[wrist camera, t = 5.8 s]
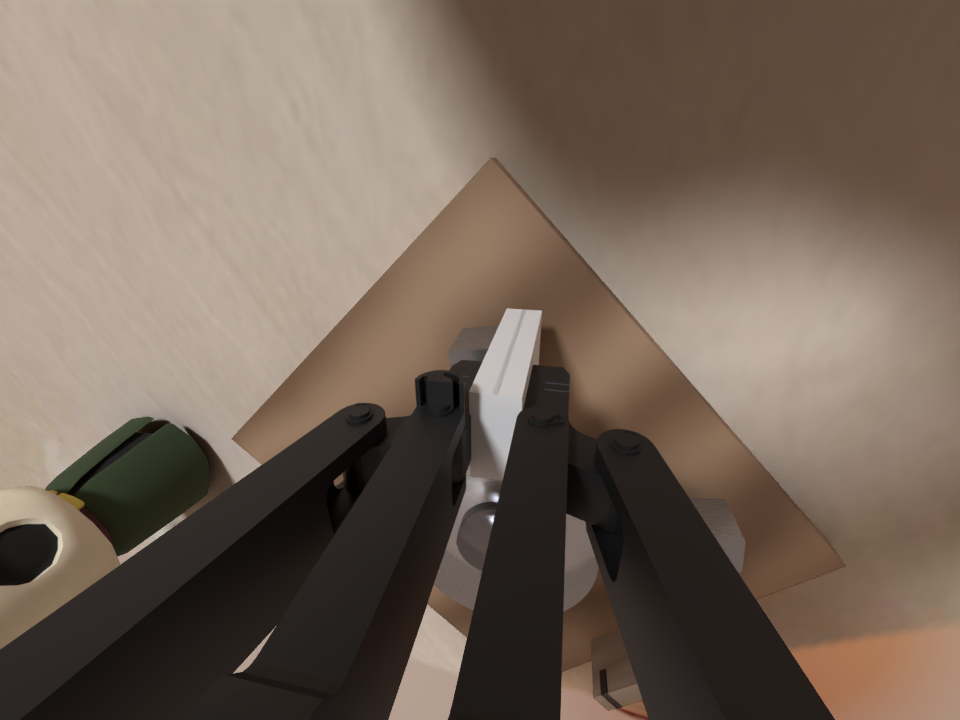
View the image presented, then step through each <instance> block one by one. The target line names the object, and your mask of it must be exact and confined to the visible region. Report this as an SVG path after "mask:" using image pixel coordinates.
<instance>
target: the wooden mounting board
mask: <svg viewBox="0 0 960 720" xmlns="http://www.w3.org/2000/svg"><path fill="white" fill-rule="evenodd" d="M507 308H509V309H524V310H540V311H542V321H541V337H540V353H539V365H542V366H554V367H564V368H565V370H566V371H567V372H568V373H569V375H570V387H569V411H568V419H569V422H570V424H571V425H572V427H574V428H575V429H576V430H577V431H579V432H580V433H582V434H584V435H587V436H589V437H592V438H595V439H597V438H598V437H599V435H600V434H601V433H603V432H605V431H607V430H613V429H625V430H631V431H634V432H637V433H639V434H641V435H643V436H645V437H647V438H648V439H649V440H650V441H651V442H652V443H653V444H654V445H655V447H656V448H657V450H658V451H659V453H660V454H661V456H662V457H663V459H664V460H665V462H666V464H667V465H668V467H669V468H670V470H671V471H672V473H673V474H674V476H675V477H676V479H677V480H678V482H679V483H680V485H681V486H682V488H683V489H684V491H685V492H686V494H687V495H688V497H689V498H710V499H726V501H727V503H728V505H729V507H730V510H731V512H732V514H733V516H734V518H735V520H736V523H737V525H738V527H739V529H740V531H741V533H742V536H743V538H744V540H745V542H746V543H745V551H744V560H743V568H742V572H738V573H739V575H740V576H741V578H742V579H743V581H744V582H745V584H746V585H747V587H748V588H749V590H750V591H751V593H752V594H753V596H754V597H755V599H759V598H762V597H764V596H767V595H770V594H772V593H775V592H778V591H780V590H783V589H786V588H788V587H791V586H794V585H796V584H799V583H802V582H805V581H807V580H810V579H813V578H815V577H818V576H821V575H823V574H826V573H829V572H831V571H834V570H837V569H839V568H842V567H845V564H844V563H843V561H842V560H841V558H840V557H839V555H838V554H837V552H836V551H835V549H834V548H833V546H832V545H831V544H830V543H829V542H828V541H827V539H826V538H825V537H824V536H823V535H822V534H821V532H820V531H819V530H818V529H817V528H816V527H815V526H814V524H813V523H812V522H811V521H810V520H809V519H808V517H807V516H806V515H805V514H804V513H803V512H802V511H801V509H800V508H799V507H798V506H797V505H796V504H795V502H794V501H793V500H792V499H791V498H790V497H789V496H788V494H787V493H786V492H785V491H784V490H783V489H782V487H781V486H780V485H779V484H778V483H777V482H776V481H775V479H774V478H773V477H772V476H771V475H770V474H769V472H768V471H767V470H766V469H765V468H764V467H763V466H762V464H761V463H760V462H759V461H758V460H757V459H756V457H755V456H754V455H753V454H752V453H751V452H750V451H749V449H748V448H747V447H746V446H745V445H744V444H743V442H742V441H741V440H740V439H739V438H738V437H737V436H736V434H735V433H734V432H733V431H732V430H731V429H730V427H729V426H728V425H727V424H726V423H725V422H724V421H723V419H722V418H721V417H720V416H719V415H718V414H717V412H716V411H715V410H714V409H713V408H712V407H711V406H710V404H709V403H708V402H707V401H706V400H705V399H704V397H703V396H702V395H701V394H700V393H699V392H698V391H697V389H696V388H695V387H694V386H693V385H692V384H691V382H690V381H689V380H688V379H687V378H686V377H685V376H684V374H683V373H682V372H681V371H680V370H679V369H678V367H677V366H676V365H675V364H674V363H673V362H672V361H671V359H670V358H669V357H668V356H667V355H666V354H665V352H664V351H663V350H662V349H661V348H660V347H659V346H658V344H657V343H656V342H655V341H654V340H653V339H652V337H651V336H650V335H649V334H648V333H647V332H646V331H645V329H644V328H643V327H642V326H641V325H640V324H639V322H638V321H637V320H636V319H635V318H634V317H633V316H632V314H631V313H630V312H629V311H628V310H627V309H626V307H625V306H624V305H623V304H622V303H621V302H620V301H619V299H618V298H617V297H616V296H615V295H614V294H613V292H612V291H611V290H610V289H609V288H608V287H607V286H606V284H605V283H604V282H603V281H602V280H601V279H600V277H599V276H598V275H597V274H596V273H595V272H594V271H593V269H592V268H591V267H590V266H589V265H588V264H587V262H586V261H585V260H584V259H583V258H582V257H581V256H580V254H579V253H578V252H577V251H576V250H575V249H574V247H573V246H572V245H571V244H570V243H569V242H568V241H567V239H566V238H565V237H564V236H563V235H562V234H561V233H560V231H559V230H558V229H557V228H556V227H555V226H554V224H553V223H552V222H551V221H550V220H549V219H548V218H547V216H546V215H545V214H544V213H543V212H542V211H541V209H540V208H539V207H538V206H537V205H536V204H535V203H534V201H533V200H532V199H531V198H530V197H529V196H528V194H527V193H526V192H525V191H524V190H523V189H522V188H521V186H520V185H519V184H518V183H517V182H516V181H515V179H514V178H513V177H512V176H511V175H510V174H509V173H508V171H507V170H506V169H505V168H504V167H503V166H502V164H501V163H500V162H499V161H498V160H497V159H496V158H490V160H489V161H488V162H487V163H486V164H485V165H484V166H483V167H482V168H481V169H480V170H479V171H478V173H477V174H476V175H475V176H474V177H473V178H472V179H471V180H470V181H469V182H468V183H467V184H466V186H465V187H464V188H463V189H462V190H461V191H460V192H459V193H458V194H457V195H456V196H455V197H454V198H453V200H452V201H451V202H450V203H449V204H448V205H447V206H446V207H445V208H444V209H443V210H442V211H441V213H440V214H439V215H438V216H437V217H436V218H435V219H434V220H433V221H432V222H431V223H430V224H429V226H428V227H427V228H426V229H425V230H424V231H423V232H422V233H421V234H420V235H419V236H418V237H417V239H416V240H415V241H414V242H413V243H412V244H411V245H410V246H409V247H408V248H407V249H406V250H405V252H404V253H403V254H402V255H401V256H400V257H399V258H398V259H397V260H396V261H395V262H394V263H393V264H392V266H391V267H390V268H389V269H388V270H387V271H386V272H385V273H384V274H383V275H382V276H381V277H380V279H379V280H378V281H377V282H376V283H375V284H374V285H373V286H372V287H371V288H370V289H369V290H368V292H367V293H366V294H365V295H364V296H363V297H362V298H361V299H360V300H359V301H358V302H357V303H356V305H355V306H354V307H353V308H352V309H351V310H350V311H349V312H348V313H347V314H346V315H345V316H344V318H343V319H342V320H341V321H340V322H339V323H338V324H337V325H336V326H335V327H334V328H333V329H332V330H331V332H330V333H329V334H328V335H327V336H326V337H325V338H324V339H323V340H322V341H321V342H320V343H319V345H318V346H317V347H316V348H315V349H314V350H313V351H312V352H311V353H310V354H309V355H308V356H307V358H306V359H305V360H304V361H303V362H302V363H301V364H300V365H299V366H298V367H297V368H296V369H295V371H294V372H293V373H292V374H291V375H290V376H289V377H288V378H287V379H286V380H285V381H284V382H283V383H282V385H281V386H280V387H279V388H278V389H277V390H276V391H275V392H274V393H273V394H272V395H271V396H270V398H269V399H268V400H267V401H266V402H265V403H264V404H263V405H262V406H261V407H260V408H259V409H258V411H257V412H256V413H255V414H254V415H253V416H252V417H251V418H250V419H249V420H248V421H247V422H246V424H245V425H244V426H243V427H242V428H241V429H240V430H239V431H238V432H237V433H236V434H235V435H234V437H233V438H232V440H233V441H235V442H236V443H237V444H238V445H239V446H241V447H242V448H243V449H244V450H245V451H246V452H248V453H249V454H250V455H251V456H252V457H254V458H255V459H256V460H257V461H258V462H260V463H261V464H262V465H263V464H264V463H265V462H267V461H268V460H270V459H271V458H273V457H274V456H275V455H277V454H278V453H280V452H281V451H283V450H284V449H285V448H287V447H288V446H290V445H291V444H292V443H294V442H295V441H297V440H298V439H300V438H301V437H302V436H304V435H305V434H307V433H308V432H309V431H311V430H312V429H314V428H315V427H317V426H318V425H319V424H321V423H322V422H324V421H325V420H326V419H328V418H329V417H331V416H332V415H334V414H335V413H336V412H338V411H339V410H341V409H343V408H345V407H347V406H350V405H353V404H356V403H372V404H377V405H379V406H381V407H382V408H383V409H384V411H385V415H386V418H392V417H403V416H409V415H411V414H412V413H413V411H414V410H415V408H416V406H417V405H416V392H415V378H417V377H418V376H419V375H421V374H423V373H426V372H429V371H434V370H448V371H449V370H450V368H451V365H450V360H449V355H448V351H449V349H450V347H451V346H452V344H453V343H454V341H455V339H456V338H457V336H458V335H459V333H460V331H461V330H462V328H472V327H484V326H497V325H499V324H500V322H501V320H502V318H503V316H504V313H505V311H506V309H507ZM343 480H344V479H343V474H341V475H340V476H339V477H337V478H336V479H335V480H334V485H335V486H336V485H338V484H340V483H341V482H342V481H343ZM427 604H428V605H429V606H430V607H431V608H433V609H434V610H435V611H436V612H437V613H438V614H440V615H441V616H442V617H443V618H444V619H446V620H447V621H448V622H449V623H450V624H452V625H453V626H454V627H455V628H456V629H457V630H459V631H460V632H461V633H462V634H463V635H465V636H466V637H468V632H469V628H470V623H471V619H472V614H473V610H472V609H470V608H467V607H465V606H463V605H461V604H460V603H458V602H456V601H455V600H453V599H451V598H450V597H448V596H447V595H446V594H444V593H443V592H442V591H441V590H440V589H439V588H437V587H436V586H435V585H433V588H432V591H431V594H430V597H429V600H428V603H427ZM589 661H592V673H593V695H594V699H595V700H596V701H598V702H599V703H600V704H601V705H602V706H603V707H604V708H606V709H607V710H608V711H609V710H612V709H618V708H621V707H623V706H625V705H629V704H632V703H635V702H638V701H642V700H643V699H642V696H641V693H640V690H639V687H638V684H637V681H636V678H635V675H634V672H633V669H632V666H631V663H630V660H629V657H628V654H627V651H626V648H625V645H624V642H623V639H622V636H621V633H620V630H619V627H618V624H617V621H616V618H615V615H614V612H613V609H612V606H611V603H610V600H609V597H608V594H607V591H606V588H605V585H604V582H603V579H602V576H601V573H600V570H599V567H598V572H597V577H596V580H595V582H594V584H593V586H592V588H591V589H590V591H589V592H588V594H587V595H586V596H585V597H584V598H583V599H582V600H581V601H580V602H578V603H577V604H576V605H575V606H573V607H571V608H569V609H568V610H566V611H564V612H563V641H562V672H563V671H565V670H568V669H571V668H573V667H576V666H579V665H581V664H584V663H587V662H589Z"/></svg>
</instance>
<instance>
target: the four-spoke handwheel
mask: <svg viewBox="0 0 960 720" xmlns="http://www.w3.org/2000/svg"><path fill="white" fill-rule="evenodd" d="M498 327H499V325H497V326H484V327H472V328H462V330H461V331H460V333H459V335H458V336H457V338H456V339H455V341H454V343H453V344H452V346H451V347H450V349H449V351H448V355H449V360H450V365H451V367H452V366H453V365H454V364H456V363H457V362H459V361H461V360H471V361H483V360H484V357H485V355H486V353H487V351H488V349H489V346H490V344H491V342H492V340H493V338H494V335H495V333H496V331H497V329H498ZM501 485H502V480H494V479H487V478H480V477H472V476H470V464H469V467H468V470H467V472H466V491H465V494H464V497H463V500H462V503H461V506H460V509H459V512H458V514H457V517H456V520H455V523H454V526H453V529H452V532H451V535H450V538H449V541H448V544H447V547H446V550H445V553H444V556H443V559H442V562H441V565H440V568H439V571H438V574H437V577H436V580H435V583H434V585H435V586H436V587H437V588H439V589H440V590H441V591H442V592H443V593H444V594H446V595H447V596H448V597H450V598H451V599H453V600H455V601H456V602H458V603H460V604H461V605H463V606H465V607H467V608H470V609H472V610H474V605H475V601H476V597H477V592H478V588H479V583H480V579H481V574H482V570H483V565H484V561H485V557H486V552H487V548H488V543H489V539H490V534H491V530H492V525H493V521H494V517H495V512H496V508H497V503H498V499H499V494H500V490H501ZM689 499H690V500H691V502H692V503H693V505H694V506H695V508H696V509H697V511H698V512H699V514H700V515H701V517H702V518H703V520H704V521H705V523H706V524H707V526H708V527H709V529H710V530H711V532H712V533H713V535H714V537H715V538H716V540H717V541H718V543H719V544H720V546H721V547H722V549H723V550H724V552H725V553H726V555H727V556H728V558H729V559H730V561H731V562H732V564H733V565H734V567H735V568H736V570H737V572H742V568H743V560H744V551H745V543H746V542H745V540H744V538H743V536H742V533H741V531H740V529H739V527H738V525H737V523H736V520H735V518H734V516H733V514H732V512H731V510H730V507H729V505H728V503H727V501H726V499H710V498H689ZM597 572H598V564H597V561H596V558H595V555H594V552H593V549H592V546H591V543H590V540H589V537H588V534H587V531H586V523H585V521H583V520H580V519H578V518H575V517H573V516H570V515H568V514H566V542H565V575H564V608H563V612H564V611H566V610H568V609H569V608H571V607H573V606H575V605H576V604H577V603H578V602H580V601H581V600H582V599H583V598H584V597H585V596H586V595H587V594H588V592H589V591H590V589H591V588H592V586H593V584H594V582H595V580H596V577H597Z"/></svg>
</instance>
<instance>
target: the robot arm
mask: <svg viewBox="0 0 960 720" xmlns="http://www.w3.org/2000/svg"><path fill="white" fill-rule="evenodd" d="M541 321H542V311H540V310H524V309H509V308H507V309H506V311H505V313H504V316H503V318H502V320H501V322H500V324H499V327H498V329H497V331H496V333H495V335H494V338H493V340H492V342H491V344H490V346H489V349H488V351H487V353H486V355H485V357H484V360H483V361H471V360H461V361H459V362H457V363H456V364H454V365H453V366H452V367H451V368H450V370H449V371H448V370H434V371H429V372H426V373H423V374H421V375H419V376H418V377H417V378H415V392H416V405H417V406H416V408H415V410H414V411H413V413H412V414H411V415H409V416H403V417H392V418H386V415H385V411H384V409H383V408H382V407H381V406H379V405H377V404H372V403H356V404H353V405H350V406H347V407H345V408H343V409H341V410H339V411H338V412H336V413H335V414H334V415H332V416H331V417H329V418H328V419H326V420H325V421H324V422H322V423H321V424H319V425H318V426H317V427H315V428H314V429H312V430H311V431H309V432H308V433H307V434H305V435H304V436H302V437H301V438H300V439H298V440H297V441H295V442H294V443H292V444H291V445H290V446H288V447H287V448H285V449H284V450H283V451H281V452H280V453H278V454H277V455H275V456H274V457H273V458H271V459H270V460H268V461H267V462H265V463H264V464H263V465H261V466H260V467H258V468H257V469H256V470H254V471H253V472H251V473H250V474H248V475H247V476H246V477H244V478H243V479H241V480H240V481H239V482H237V483H236V484H234V485H233V486H231V487H230V488H229V489H227V490H226V491H224V492H223V493H222V494H220V495H219V496H217V497H216V498H214V499H213V500H212V501H210V502H209V503H207V504H206V505H204V506H203V507H202V508H200V509H199V510H197V511H196V512H195V513H193V514H192V515H190V516H189V517H187V518H186V519H185V520H183V521H182V522H180V523H179V524H178V525H176V526H175V527H173V528H172V529H170V530H169V531H168V532H166V533H165V534H163V535H162V536H160V537H159V538H158V539H156V540H155V541H153V542H152V543H151V544H149V545H148V546H146V547H145V548H143V549H142V550H141V551H139V552H138V553H136V554H135V555H134V556H132V557H131V558H129V559H128V560H127V561H125V562H124V563H122V564H121V565H119V566H118V567H117V568H115V569H114V570H112V571H111V572H109V573H108V574H107V575H105V576H104V577H102V578H101V579H99V580H98V581H97V582H95V583H94V584H92V585H91V586H90V587H88V588H87V589H85V590H84V591H82V592H81V593H80V594H78V595H77V596H75V597H74V598H73V599H71V600H70V601H68V602H67V603H65V604H64V605H63V606H61V607H60V608H58V609H57V610H56V611H54V612H53V613H51V614H50V615H48V616H47V617H46V618H44V619H43V620H41V621H40V622H38V623H37V624H36V625H34V626H33V627H31V628H30V629H29V630H27V631H26V632H24V633H23V634H21V635H20V636H19V637H17V638H16V639H14V640H13V641H12V642H10V643H9V644H7V645H6V646H4V647H3V648H2V649H0V720H388V719H389V716H390V712H391V710H392V706H393V703H394V701H395V698H396V695H397V692H398V689H399V686H400V683H401V680H402V677H403V674H404V671H405V668H406V665H407V662H408V659H409V657H410V654H411V651H412V648H413V645H414V642H415V639H416V636H417V633H418V630H419V627H420V624H421V621H422V618H423V615H424V612H425V609H426V606H427V603H428V600H429V597H430V594H431V591H432V588H433V585H434V583H435V580H436V577H437V574H438V571H439V568H440V565H441V562H442V559H443V556H444V553H445V550H446V547H447V544H448V541H449V538H450V535H451V532H452V529H453V526H454V523H455V520H456V517H457V514H458V512H459V509H460V506H461V503H462V500H463V497H464V494H465V491H466V472H467V470H468V467H469V464H470V476H472V477H480V478H487V479H494V480H502V485H501V490H500V494H499V499H498V503H497V508H496V512H495V517H494V521H493V525H492V530H491V534H490V539H489V543H488V548H487V552H486V557H485V561H484V565H483V570H482V574H481V579H480V583H479V588H478V592H477V597H476V601H475V605H474V610H473V614H472V619H471V623H470V628H469V632H468V637H467V641H466V646H465V650H464V654H463V659H462V663H461V668H460V672H459V677H458V681H457V686H456V690H455V694H454V700H453V703H452V707H451V711H450V715H449V718H448V720H560V708H561V706H560V705H561V674H562V641H563V608H564V575H565V542H566V514H568V515H570V516H573V517H575V518H578V519H580V520H583V521H585V523H586V531H587V534H588V537H589V540H590V543H591V546H592V549H593V552H594V555H595V558H596V561H597V564H598V567H599V570H600V573H601V576H602V579H603V582H604V585H605V588H606V591H607V594H608V597H609V600H610V603H611V606H612V609H613V612H614V615H615V618H616V621H617V624H618V627H619V630H620V633H621V636H622V639H623V642H624V645H625V648H626V651H627V654H628V657H629V660H630V663H631V666H632V669H633V672H634V675H635V678H636V681H637V684H638V687H639V690H640V693H641V696H642V699H643V702H644V705H645V708H646V711H647V714H648V717H649V720H835V719H834V718H833V716H832V714H831V713H830V711H829V710H828V708H827V707H826V706H825V704H824V703H823V701H822V699H821V698H820V696H819V695H818V693H817V692H816V690H815V689H814V687H813V686H812V684H811V683H810V681H809V680H808V678H807V677H806V675H805V673H804V672H803V670H802V669H801V667H800V666H799V664H798V663H797V661H796V660H795V658H794V657H793V655H792V654H791V652H790V651H789V649H788V648H787V646H786V645H785V643H784V641H783V640H782V638H781V637H780V635H779V634H778V632H777V631H776V629H775V628H774V626H773V625H772V623H771V622H770V620H769V619H768V617H767V616H766V614H765V613H764V611H763V610H762V608H761V606H760V605H759V603H758V602H757V600H756V599H755V597H754V596H753V594H752V593H751V591H750V590H749V588H748V587H747V585H746V584H745V582H744V581H743V579H742V578H741V576H740V575H739V573H738V572H737V570H736V568H735V567H734V565H733V564H732V562H731V561H730V559H729V558H728V556H727V555H726V553H725V552H724V550H723V549H722V547H721V546H720V544H719V543H718V541H717V540H716V538H715V537H714V535H713V533H712V532H711V530H710V529H709V527H708V526H707V524H706V523H705V521H704V520H703V518H702V517H701V515H700V514H699V512H698V511H697V509H696V508H695V506H694V505H693V503H692V502H691V500H690V499H689V497H688V495H687V494H686V492H685V491H684V489H683V488H682V486H681V485H680V483H679V482H678V480H677V479H676V477H675V476H674V474H673V473H672V471H671V470H670V468H669V467H668V465H667V464H666V462H665V460H664V459H663V457H662V456H661V454H660V453H659V451H658V450H657V448H656V447H655V445H654V444H653V443H652V442H651V441H650V440H649V439H648V438H647V437H645V436H643V435H641V434H639V433H637V432H634V431H631V430H625V429H613V430H607V431H605V432H603V433H601V434H600V435H599V437H598V438H597V439H595V438H592V437H589V436H587V435H584V434H582V433H580V432H579V431H577V430H576V429H575V428H574V427H572V425H571V424H570V422H569V419H568V411H569V387H570V375H569V373H568V372H567V371H566V370H565V368H564V367H554V366H542V365H539V353H540V337H541ZM341 474H343V479H344V480H343V481H342V482H341V483H340V484H338V485H336V486H335V485H334V480H335V479H336V478H337V477H339V476H340V475H341ZM276 625H277V626H276ZM275 626H276V628H275ZM274 628H275V629H274ZM273 629H274V631H273V632H272V634H271V635H270V637H269V639H268V640H267V642H266V643H265V645H264V646H263V648H262V649H261V651H260V653H259V654H258V656H257V657H256V659H255V660H254V661H253V663H252V664H251V665H250V666H249V667H248V668H247V669H246V670H244V671H243V672H240V673H235V674H233V673H234V671H235V670H236V669H237V668H238V667H239V666H240V665H241V664H242V663H243V662H244V660H245V659H246V658H247V657H248V656H249V655H250V654H251V653H252V652H253V651H254V649H255V648H256V647H257V646H258V645H259V644H260V643H261V642H262V641H263V640H264V639H265V637H266V636H267V635H268V634H269V633H270V632H271V631H272V630H273Z"/></svg>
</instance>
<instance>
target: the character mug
mask: <svg viewBox="0 0 960 720" xmlns="http://www.w3.org/2000/svg"><path fill="white" fill-rule="evenodd" d="M153 419H154V418H151V417H142V418H136V419H131V420H130V421H129V422H127V423H126V424H124V425H123V426H122V427H120V428H119V429H117V430H116V431H115V432H113V433H112V434H110V435H109V436H108V437H106V438H105V439H103V440H102V441H101V442H100V443H98V444H97V445H96V446H94V447H93V448H92V449H91V450H89V451H88V452H87V453H86V454H84V455H83V456H82V457H81V458H79V459H78V460H77V461H76V462H74V463H73V464H72V465H71V466H69V467H68V468H67V469H66V470H64V471H63V472H62V473H61V474H59V475H58V476H57V477H56V478H55V479H54V480H53V481H52V482H51V483H50V484H49V485H48V486H47V487H46V489H45V490H44V489H41V488H37V487H33V486H28V487H16V488H11V489H5V490H1V491H0V649H2V648H3V647H4V646H6V645H7V644H9V643H10V642H12V641H13V640H14V639H16V638H17V637H19V636H20V635H21V634H23V633H24V632H26V631H27V630H29V629H30V628H31V627H33V626H34V625H36V624H37V623H38V622H40V621H41V620H43V619H44V618H46V617H47V616H48V615H50V614H51V613H53V612H54V611H56V610H57V609H58V608H60V607H61V606H63V605H64V604H65V603H67V602H68V601H70V600H71V599H73V598H74V597H75V596H77V595H78V594H80V593H81V592H82V591H84V590H85V589H87V588H88V587H90V586H91V585H92V584H94V583H95V582H97V581H98V580H99V579H101V578H102V577H104V576H105V575H107V574H108V573H109V572H111V571H112V570H114V569H115V568H117V567H118V566H119V565H120V562H119V560H118V557H117V556H120V555H123V554H125V553H128V552H129V551H130V550H132V549H133V548H135V547H136V546H137V545H139V544H140V543H142V542H143V541H144V540H146V539H147V538H149V537H150V536H151V535H153V534H154V533H156V532H157V531H158V530H160V529H161V528H163V527H164V526H166V525H167V524H168V523H170V522H171V521H173V520H174V519H175V518H177V517H178V516H180V515H181V514H182V513H184V512H185V511H186V510H188V509H189V508H190V507H192V506H193V505H194V504H195V503H197V502H198V501H199V500H201V499H202V498H203V497H205V496H206V495H207V492H208V488H209V483H210V473H209V465H208V458H207V457H206V455H205V454H204V453H203V451H202V450H201V449H200V447H199V446H198V445H197V443H196V442H195V440H194V439H193V438H192V437H190V436H189V435H187V434H186V433H185V432H183V431H182V430H181V429H179V428H178V427H176V426H175V425H174V424H170V423H167V424H166V425H164V426H163V427H162V428H160V429H159V430H157V431H156V432H154V433H153V434H151V433H140V432H137V431H138V430H139V429H141V428H142V427H143V426H145V425H146V424H147V423H149V422H150V421H151V420H153Z"/></svg>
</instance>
